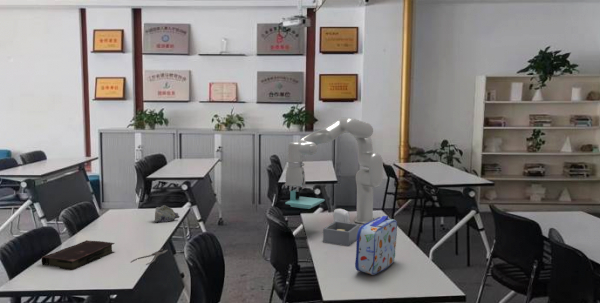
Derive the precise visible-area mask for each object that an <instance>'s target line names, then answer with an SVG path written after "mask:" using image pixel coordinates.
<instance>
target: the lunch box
mask: <svg viewBox="0 0 600 303" xmlns="http://www.w3.org/2000/svg"><path fill="white" fill-rule="evenodd" d="M374 219H375V220H373V221H370V222H368V223H366V224H362V225H361V226H360V228H359V230H358V233H357V240H356V246H355V247H356V251H355V262H354V266H355V267H354V268H355V271H357V272H363V273H364V274H369V275H372V276H375V275H376V274H378V273H380V272H383V271H385V270H387V269H388V267H390V266H391V265H392V264H393V263H394V261H395V257H396V247H397V245H396V244H397V234H398V232H397V231H398V221H397V220H396V219H393V218H389V215H382V216H379V217H377V218H374Z"/></svg>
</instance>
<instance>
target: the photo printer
mask: <svg viewBox="0 0 600 303" xmlns="http://www.w3.org/2000/svg"><path fill="white" fill-rule="evenodd" d="M350 216H351V214H350V212H349V211H348V210H345V209H343V208H335V209H334V210H333V222H335V221H336V222H344V223H351V222H350V221H351V217H350Z"/></svg>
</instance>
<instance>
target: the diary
mask: <svg viewBox="0 0 600 303" xmlns="http://www.w3.org/2000/svg"><path fill="white" fill-rule="evenodd" d="M114 244H115V242H111V241H110V242H108V241H100V240H99V241H98V240H84V241H81V242H79V243H77V244H74V245H72V246H71V245H70V246H68V247H65V248H62V249H60V250H58V251H55V252H53V253H50V254H47V255H43V256H41V264H42V265H41V266H47V267H49V266H50V267H54V268H58V269H62V270H67V271H73V270H77V269H80V268H82V267H85V266H86V265H89V264H91V263H93V262H96V261H98V260H100V259H103V258H104V257H107V256H111V254H114V253H116V251H113V246H112V245H114Z"/></svg>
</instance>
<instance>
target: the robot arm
mask: <svg viewBox="0 0 600 303" xmlns="http://www.w3.org/2000/svg"><path fill="white" fill-rule="evenodd" d="M344 133H347V134H349V135H351V136H352V137H353V138H354V139H355V141H356V143H357V162H358V165H360V166H361V167H363V168H361V169H359V170H358V171H357V172H356V174H355V183H356V217H354V219H353V222H355V224H360V225H361V224H362V225H364V224H366V223H368V222H370V221H373V220H375V219H376V218H373V217H374V216H373V215H374V214H373V210H374V189H375V188H378V187H381V185H382V183H383V180H384V179H383V178H384V174H383V173H384V166H383V165H384V164H383V163H384V161H383V158H382V155H381V154H380V153H378V152H374V150H373V141H372V137H371V136H373V134H374V128H373V126H372V124H370V123H369V122H366V121H362V120H359V119H356V118H352V117H339V118H337V119H336V120H334V121H333V122H331V123H330V124H328V125H326V126H325V127H323V128H321V129H319V130H316V131H314V132H311V133H309V134H307V135H305V136H304V137H302V138H301V139H299V140H298V141H291V142H288V146H287V148H288V149H287V150H288V151H287V152H288V155H287V156H288V157H287V158H288V159H287V160H288V161H287V167H286V171H285V181H284V182H285V183H284V187H286V188H287V189H288V191H289V192H290V191H292V190H294V187H296V188H295V189H296V190H297V192H296V199H299V197H300V196H301V191H302V190H303V189H305V188H306V187H307V186H306V174H305V167H304V166H305V163H303V156H313V155H315V154H316V153H317V152H318V146H317V145H322V144H327V143H331V142H333V141H334V140H335V139H337V138H339V137H340V136H342V135H343V134H344Z"/></svg>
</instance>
